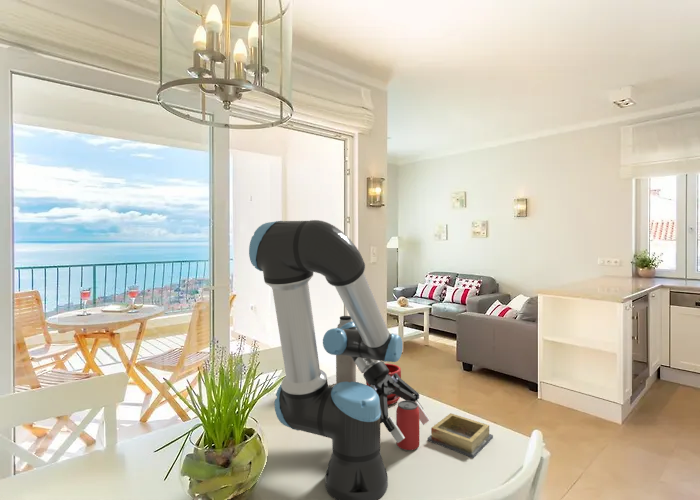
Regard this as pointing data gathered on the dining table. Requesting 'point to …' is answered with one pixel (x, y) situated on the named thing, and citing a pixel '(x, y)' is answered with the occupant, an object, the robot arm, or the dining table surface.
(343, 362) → the thermos bottle
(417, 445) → the beer can
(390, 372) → the plant pot
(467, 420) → the frame
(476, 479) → the dining table surface
